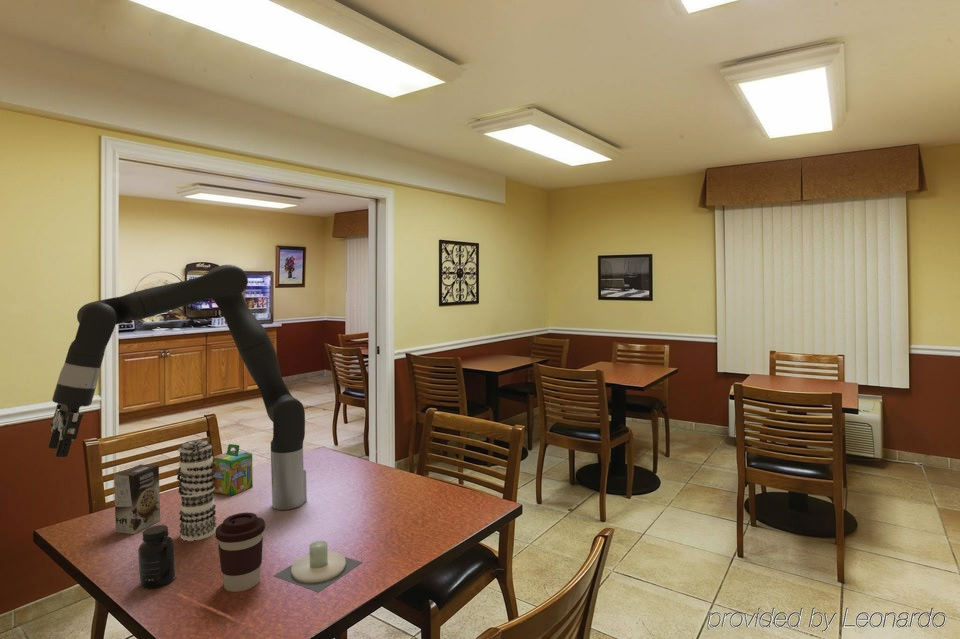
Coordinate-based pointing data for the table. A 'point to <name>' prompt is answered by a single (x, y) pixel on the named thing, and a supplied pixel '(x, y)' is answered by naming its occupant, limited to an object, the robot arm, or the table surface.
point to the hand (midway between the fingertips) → (57, 452)
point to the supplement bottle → (156, 558)
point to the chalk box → (232, 471)
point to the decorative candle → (196, 490)
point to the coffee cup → (240, 550)
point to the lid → (318, 564)
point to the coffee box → (137, 498)
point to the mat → (318, 587)
